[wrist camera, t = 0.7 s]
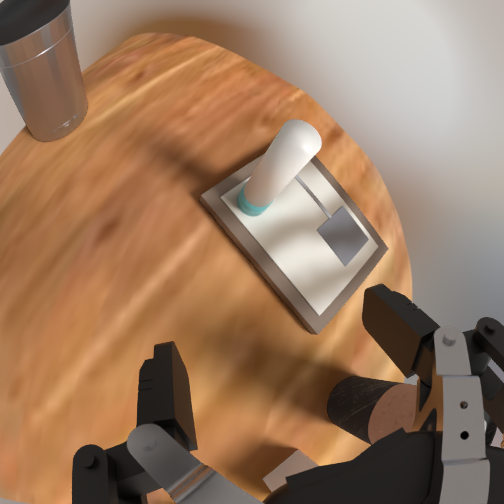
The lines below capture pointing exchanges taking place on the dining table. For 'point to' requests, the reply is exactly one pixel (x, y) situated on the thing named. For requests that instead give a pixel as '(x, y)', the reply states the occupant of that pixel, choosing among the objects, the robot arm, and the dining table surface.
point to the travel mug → (379, 408)
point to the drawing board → (302, 240)
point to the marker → (279, 166)
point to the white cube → (288, 469)
